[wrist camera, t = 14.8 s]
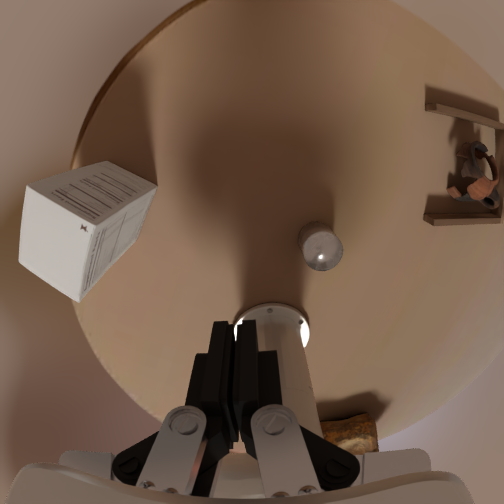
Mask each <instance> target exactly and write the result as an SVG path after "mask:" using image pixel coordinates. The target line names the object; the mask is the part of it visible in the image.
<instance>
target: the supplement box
mask: <svg viewBox="0 0 504 504" xmlns="http://www.w3.org/2000/svg"><path fill="white" fill-rule="evenodd" d="M156 189H157V185H155V184H153V183H151V182H149V181H147V180H145V179H143V178H141V177H139V176H137V175H135V174H133V173H131V172H129V171H127V170H125V169H123V168H121V167H119V166H117V165H115V164H113V163H111V162H109V161H103V162H99V163H95V164H92V165H88V166H84V167H80V168H77V169H74V170H70V171H67V172H64V173H61V174H57V175H54V176H51V177H48V178H45V179H42V180H39V181H36V182H33V183H31V184H28V185H27V186H26V193H25V199H24V206H23V213H22V222H21V232H20V246H19V263H21V264H22V265H23V266H25V267H26V268H27V269H28V270H30V271H31V272H33V273H34V274H35V275H37V276H38V277H40V278H41V279H43V280H44V281H45V282H47V283H49V284H50V285H51V286H53V287H54V288H56V289H57V290H59V291H60V292H62V293H63V294H65V295H67V296H68V297H70V298H71V299H73V300H75V301H76V302H80V301H81V300H82V299H83V298H84V296H85V295H86V294H87V293H88V292H89V291H90V289H91V288H92V287H93V286H94V285H95V284H96V283H97V281H98V280H99V279H100V278H101V277H102V276H103V275H104V273H105V272H106V271H107V270H108V269H109V268H110V267H111V266H112V265H113V264H114V263H115V262H116V261H117V260H118V259H119V258H120V257H121V256H122V255H123V254H124V253H125V252H126V250H127V249H128V248H129V247H130V246H131V245H132V244H133V243H134V242H135V241H136V240H137V238H138V235H139V232H140V230H141V227H142V224H143V222H144V219H145V216H146V214H147V211H148V209H149V206H150V204H151V201H152V199H153V197H154V194H155V192H156Z"/></svg>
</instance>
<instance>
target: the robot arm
mask: <svg viewBox="0 0 504 504" xmlns="http://www.w3.org/2000/svg"><path fill="white" fill-rule="evenodd" d="M309 336H310V330H309V325H308V322H307V320H306V318H305V317H304V315H303V314H302V313H301V312H300V311H298V310H297V309H295V308H293V307H291V306H289V305H285V304H280V303H266V304H261V305H257V306H255V307H252V308H250V309H249V310H247V311H245V312H244V313H243V314H242V315H241V316H240V317H239V318H238V319H237V321H236V323H235V325H234V326H233V324H228V321H216V322H214V323H213V328H212V334H211V339H210V345H209V350H208V353H197V354H196V356H195V360H194V365H193V369H192V374H191V378H190V383H189V388H188V392H187V397H186V402H185V406H179V407H177V408H175V409H172V410H171V411H170V412H169V413H168V414H167V416H166V417H165V419H164V421H163V424H162V426H161V428H160V430H159V431H158V432H156V433H154V434H153V435H151V436H149V437H148V438H146V439H144V440H142V441H140V442H139V443H137V444H135V445H134V446H131V447H130V448H128V449H126V450H124V451H122V452H121V453H119V454H118V455H113V454H112V453H107V452H106V453H105V452H87V451H75V450H71V451H66V452H64V453H63V454H62V455H61V457H60V460H59V464H53V463H33V464H29V465H26V466H25V467H23V468H22V469H21V470H20V471H19V473H18V474H17V476H16V477H15V479H14V481H13V483H12V485H11V488H10V490H9V492H8V495H7V498H6V500H5V503H4V504H474V501H473V499H472V497H471V494H470V492H469V490H468V488H467V487H466V485H465V484H464V482H463V481H462V480H461V479H460V478H459V477H458V476H457V475H455V474H453V473H450V472H442V471H431V462H430V458H429V455H428V454H427V453H426V452H425V451H424V450H421V449H414V448H413V449H406V450H397V451H387V452H370V453H364V455H353V454H351V453H350V452H348V451H346V450H344V449H342V448H340V447H338V446H336V445H334V444H333V443H331V442H329V441H327V440H325V439H324V437H323V433H322V429H321V425H320V421H319V416H318V412H317V407H316V402H315V397H314V392H313V388H312V383H311V378H310V373H309V369H308V364H307V360H306V355H305V351H304V348H305V346H306V345H307V342H308V340H309ZM239 431H240V435H241V439H242V442H244V444H245V448H246V452H247V453H239V454H228V453H229V449H233V442H238V440H239Z"/></svg>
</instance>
